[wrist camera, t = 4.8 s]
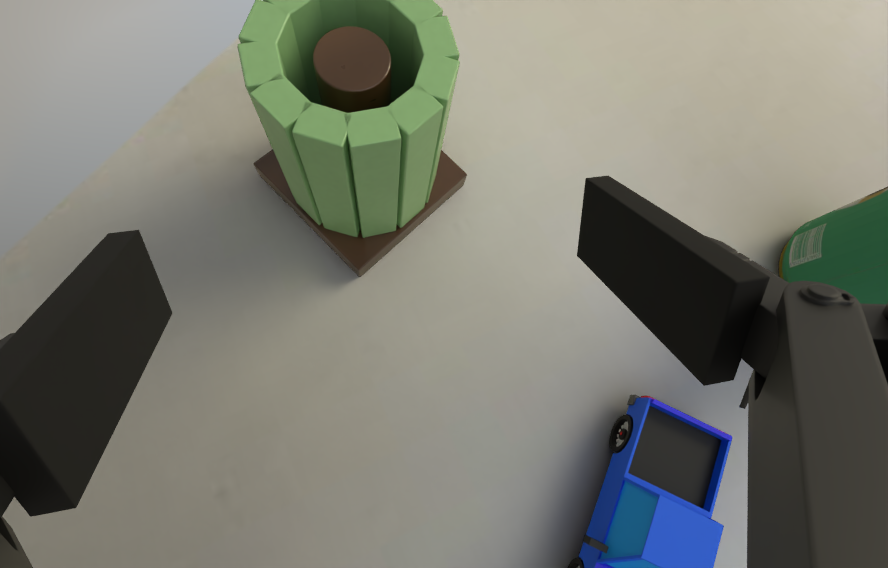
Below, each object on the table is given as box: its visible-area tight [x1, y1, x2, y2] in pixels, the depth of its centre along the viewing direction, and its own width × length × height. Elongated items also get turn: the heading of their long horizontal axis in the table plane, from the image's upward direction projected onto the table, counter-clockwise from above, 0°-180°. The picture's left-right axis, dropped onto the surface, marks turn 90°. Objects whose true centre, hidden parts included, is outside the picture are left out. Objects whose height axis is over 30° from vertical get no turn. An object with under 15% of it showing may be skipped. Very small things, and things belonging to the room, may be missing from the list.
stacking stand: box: [254, 26, 467, 277], centre depth 25 cm, size 9×9×11 cm
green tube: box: [238, 0, 460, 238], centre depth 24 cm, size 9×9×10 cm
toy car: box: [567, 395, 732, 568], centre depth 25 cm, size 7×12×5 cm, turn 155°
